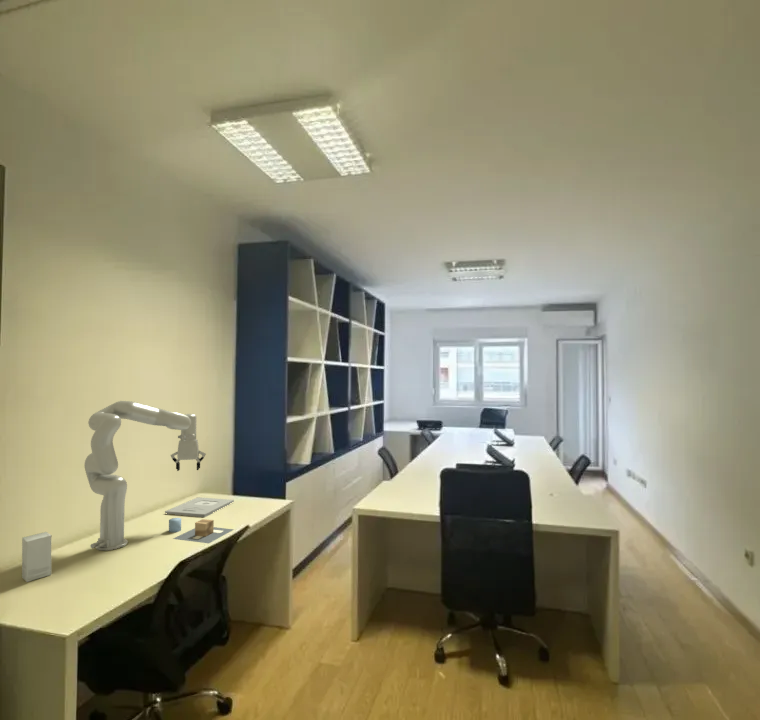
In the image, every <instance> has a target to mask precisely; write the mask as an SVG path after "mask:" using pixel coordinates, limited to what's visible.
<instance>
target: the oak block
mask: <svg viewBox="0 0 760 720" xmlns="http://www.w3.org/2000/svg"><path fill="white" fill-rule="evenodd" d="M214 521H215V520H214V519H206V518H202V519H200V520H198V521H196V522H194V528H195V535H196V536H204V537H206V536H208V535H210V534H212V533H214V527H215V526H214Z"/></svg>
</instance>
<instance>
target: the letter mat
mask: <svg viewBox="0 0 760 720" xmlns="http://www.w3.org/2000/svg"><path fill="white" fill-rule="evenodd" d="M234 530H235V529H232V528H224V527H215V526H214V533H212V534H210V535H208V536H206V537H204V536H196V535H195V527H194V528H193V529H190V530H188V531H185V532H184V533H181V534H179V535H178V536H175V537H174V538H172V540H180V541H186V542H194V543H203V544H211V543H212V542H214V541H216V540H217V539H218V540H219V539H220V538H221V537H224V536H225V535H227V534H229V533H230V532H232V531H234Z"/></svg>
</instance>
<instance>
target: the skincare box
mask: <svg viewBox="0 0 760 720" xmlns="http://www.w3.org/2000/svg"><path fill="white" fill-rule="evenodd" d="M21 541H22V543H21V546H22V547H21V558H22V559H21V566H22V567H21V577H22V579H23V580H24V581H25V582H26V583H30V582H31V581H35V580H38V579H42V578H45V577H49V576H51V575H52V534H50V533H49V532H47V531H44V532H40V533H36V534H32V535H28V536H24V537H23V536H22V538H21Z"/></svg>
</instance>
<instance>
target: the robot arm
mask: <svg viewBox="0 0 760 720" xmlns="http://www.w3.org/2000/svg"><path fill="white" fill-rule="evenodd" d="M121 419H122V420H129V421H134V422H137V423H142V424H146V425H150V426H156V427H157V426H158V427H159V426H160V427H166V428H167V429H170V430H174V431H175V430H177V431H180V435H177V439H180V440H179V441H178V445H177V451H175V452H174V453H172V454H170V457H171V459H172V461H173V462H174V463H175V465H176V466H175V469H176V472H179V471H180V470H181V463H180V461H188V460H191V461H193V460H195V461H196V471H199V470H200V469H201V462H202V461H203V459H205V457H206V455H207V453H206V452H203V451H201V450H200V449H199V442H198V439H197V415H196V414H194V413H185V414H183V413H179V412H176V411H175V412H173V411H170V410H165V409H163V408H159V407H155V406H151V405H146V404H144V403H140V402H135V401H130V400H119V401H116V402H114V403H112V404H110V405H108V406H106V407H104V408H102V409H100V410H98V411H96V412H95V413H92V415H91V416H90V417H89V418H88V423H87V424H88V427H89V428H90V429H91V430H92V431H94V432H93V434H92V436H91V440H90V450H91V453H89V454H88V455H87V456H86V458H85V460H84V466H83V467H84V471H85V473H86V474H85V475H86V477H87V482H88V483H89V487H90V489H91V491H92V492H93V493H94V494H98V495H100V496H103V497H102V500H101V502H100V510H99V511H100V514H99V515H100V516H99V517H100V519H99V520H100V523H99V528H100V529H99V537H98V538H97V541H96V542H93V543H91V544H90V548H91V549H96V550H97V551H113V549H114V550H117V548H118V549H121V548H124V547H125V546H127V545H128V544H127V543H129V541H128V539H126V538H125V502H126V495H127V490H128V484H127V480H126V479H125V478H124V477H122V476H120V475H116V474H114V473H116V471H117V470H118V468H119V462H118V457H117V454H116V451H115V447H114V436H115V434H116V433H117V432H118V430H119V429H120V428H121V425H122V420H121ZM199 454H200V455H201V457H199V456H200V455H199ZM176 455H177V458H176V457H175V456H176ZM126 544H127V545H126ZM123 546H124V547H123ZM120 547H121V548H120Z"/></svg>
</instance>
